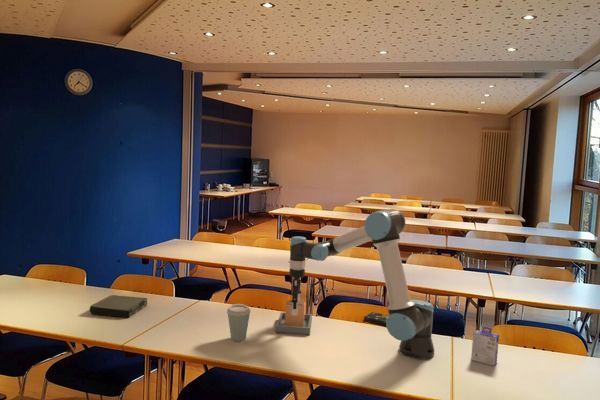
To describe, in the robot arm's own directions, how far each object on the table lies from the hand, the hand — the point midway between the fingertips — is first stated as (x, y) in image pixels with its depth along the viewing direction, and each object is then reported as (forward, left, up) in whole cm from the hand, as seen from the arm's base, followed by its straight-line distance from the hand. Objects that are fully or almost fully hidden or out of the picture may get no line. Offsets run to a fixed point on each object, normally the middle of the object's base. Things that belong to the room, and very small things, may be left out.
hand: (295, 310), depth 237 cm
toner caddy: (0, 0, -7) cm, 7 cm away
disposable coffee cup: (-21, +24, -8) cm, 33 cm away
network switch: (+6, +92, -9) cm, 93 cm away
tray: (0, 0, -8) cm, 8 cm away
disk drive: (+17, -44, -9) cm, 48 cm away
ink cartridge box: (-25, -84, -8) cm, 88 cm away
